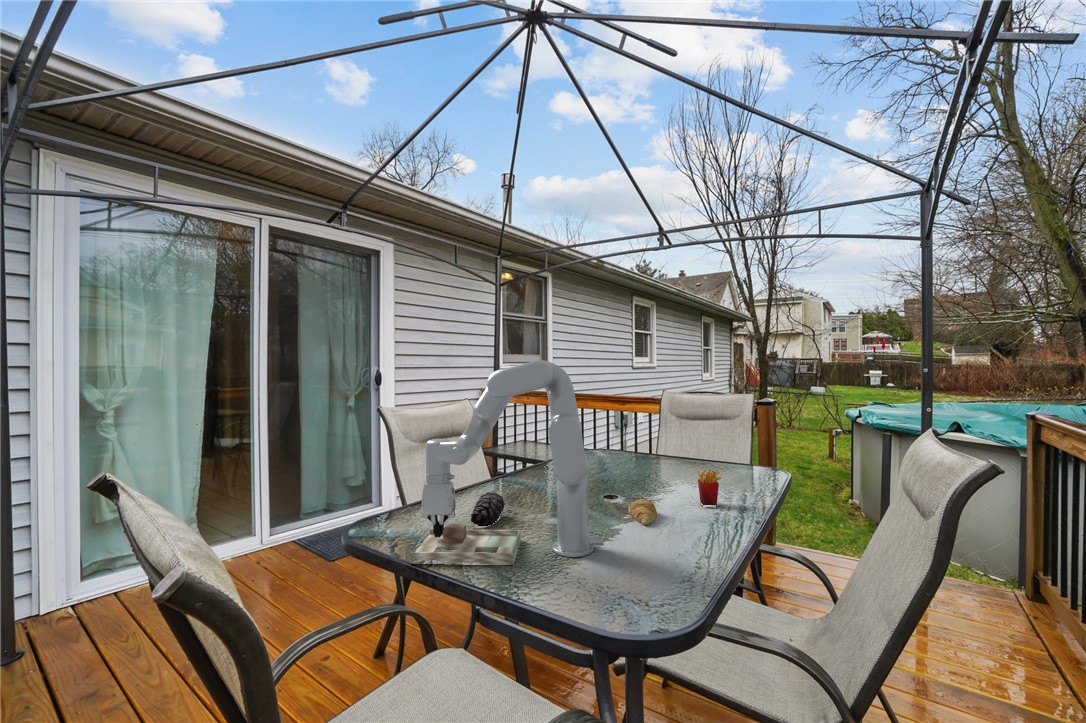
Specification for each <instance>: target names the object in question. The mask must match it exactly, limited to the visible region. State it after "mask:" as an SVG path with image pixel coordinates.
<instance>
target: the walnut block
mask: <svg viewBox="0 0 1086 723" xmlns="http://www.w3.org/2000/svg"><path fill="white" fill-rule="evenodd" d="M466 530H467V524H466V523H447V524H446V526H444V530H443V543H463V541H464V539H465V538H466Z"/></svg>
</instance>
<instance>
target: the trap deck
mask: <svg viewBox="0 0 1086 723" xmlns="http://www.w3.org/2000/svg"><path fill="white" fill-rule="evenodd" d="M521 531H522V530H521V529H466V538H465V539H464V541H463V543H443V534H442V535H441V537H435V534H433V528H432V529H431V528H429V535H428V536H427V537H426V538H425V539H424V540H423V542H422V543H421V544H420V545H419V547H418V548H417V549H416V550H415V551H410V552H409V557H410V558H409V560H410V559H417V560H439V561H440V560H441V561H450V562H465V563H466V562H467V563H479V564H494V565H495V564H497V565H513V566H514V565H515V562H516V559H517V555H518V552H519V549H518V548H520V544H521V542H522V538H521V537H522V532H521ZM437 549H446V550H458V551H457V552H436V550H437ZM476 552H488V553H476ZM489 552H490V553H489ZM515 558H516V559H515ZM514 561H515V562H514Z"/></svg>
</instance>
